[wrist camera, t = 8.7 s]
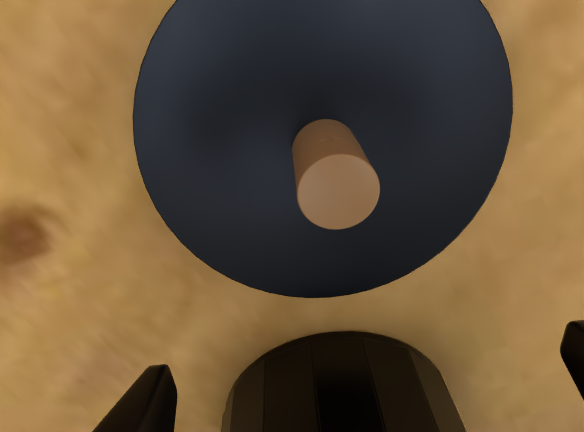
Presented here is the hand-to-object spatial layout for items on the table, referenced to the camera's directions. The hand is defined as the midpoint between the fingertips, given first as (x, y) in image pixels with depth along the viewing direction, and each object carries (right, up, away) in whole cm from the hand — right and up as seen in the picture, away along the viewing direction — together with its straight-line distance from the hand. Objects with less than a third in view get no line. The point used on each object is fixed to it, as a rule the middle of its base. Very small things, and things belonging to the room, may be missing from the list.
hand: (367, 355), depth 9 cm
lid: (0, +6, +8) cm, 10 cm away
